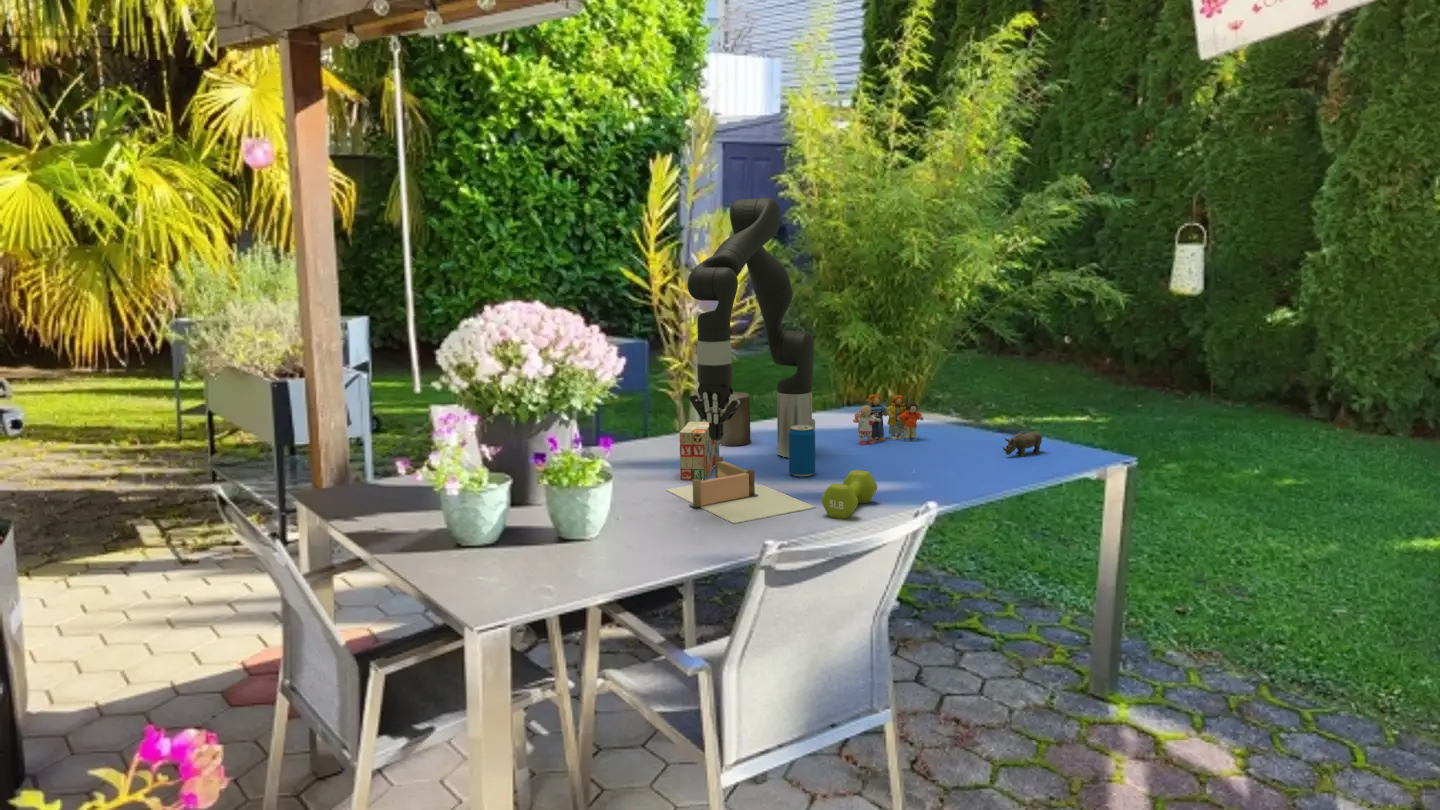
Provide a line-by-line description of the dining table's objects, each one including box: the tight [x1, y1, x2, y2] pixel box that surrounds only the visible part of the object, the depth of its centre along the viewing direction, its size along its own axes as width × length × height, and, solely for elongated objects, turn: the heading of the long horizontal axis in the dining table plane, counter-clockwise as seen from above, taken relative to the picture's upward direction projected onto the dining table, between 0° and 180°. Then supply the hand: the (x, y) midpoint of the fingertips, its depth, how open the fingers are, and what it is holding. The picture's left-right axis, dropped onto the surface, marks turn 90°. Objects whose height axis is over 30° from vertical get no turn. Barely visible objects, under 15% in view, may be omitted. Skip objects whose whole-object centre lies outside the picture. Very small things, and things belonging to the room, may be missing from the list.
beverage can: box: [788, 425, 816, 477], centre depth 253 cm, size 6×6×12 cm
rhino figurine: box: [1002, 430, 1043, 457], centre depth 270 cm, size 4×14×6 cm, turn 119°
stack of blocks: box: [679, 421, 720, 481], centre depth 260 cm, size 21×6×12 cm, turn 171°
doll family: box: [852, 393, 924, 446], centre depth 290 cm, size 21×10×13 cm, turn 104°
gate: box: [692, 473, 749, 508], centre depth 231 cm, size 2×14×6 cm, turn 123°
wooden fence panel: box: [714, 456, 756, 496], centre depth 241 cm, size 2×16×6 cm, turn 30°
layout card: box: [665, 483, 816, 524], centre depth 234 cm, size 23×31×1 cm
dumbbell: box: [820, 469, 878, 520], centre depth 224 cm, size 16×8×7 cm, turn 152°
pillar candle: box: [719, 390, 752, 447], centre depth 289 cm, size 10×10×15 cm
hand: (716, 439), depth 224 cm, fingers closed
